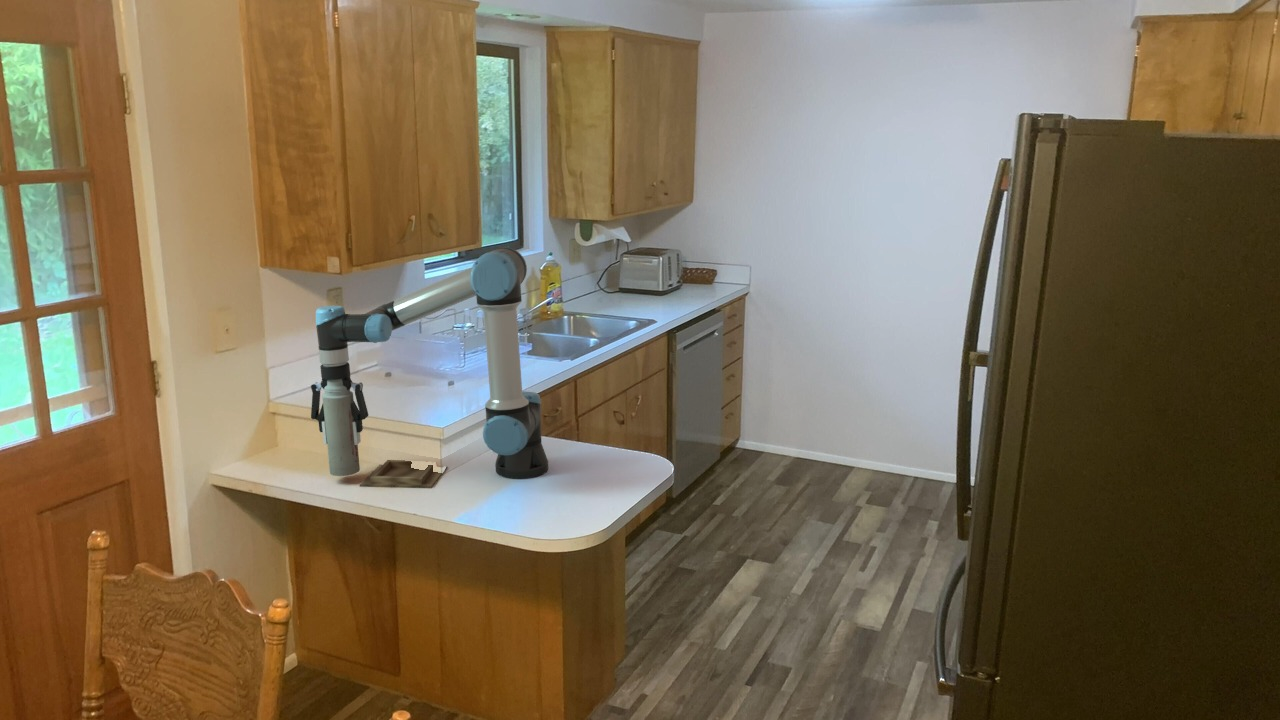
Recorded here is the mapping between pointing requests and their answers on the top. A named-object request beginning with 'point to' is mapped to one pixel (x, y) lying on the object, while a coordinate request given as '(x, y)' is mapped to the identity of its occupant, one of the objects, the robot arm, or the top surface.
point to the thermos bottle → (340, 429)
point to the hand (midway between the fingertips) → (342, 443)
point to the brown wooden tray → (401, 476)
